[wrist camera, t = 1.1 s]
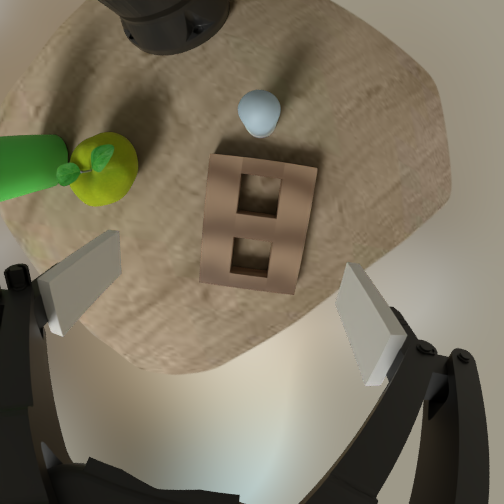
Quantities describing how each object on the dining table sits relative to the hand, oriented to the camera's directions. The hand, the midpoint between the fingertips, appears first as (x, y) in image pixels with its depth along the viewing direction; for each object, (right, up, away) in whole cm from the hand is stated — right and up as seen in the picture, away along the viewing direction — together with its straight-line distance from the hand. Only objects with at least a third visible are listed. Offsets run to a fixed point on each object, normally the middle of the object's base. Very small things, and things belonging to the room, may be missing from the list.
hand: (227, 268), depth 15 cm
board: (+2, +5, +22) cm, 22 cm away
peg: (+2, +17, +18) cm, 25 cm away
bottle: (-31, +16, +20) cm, 40 cm away
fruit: (-17, +13, +20) cm, 30 cm away
